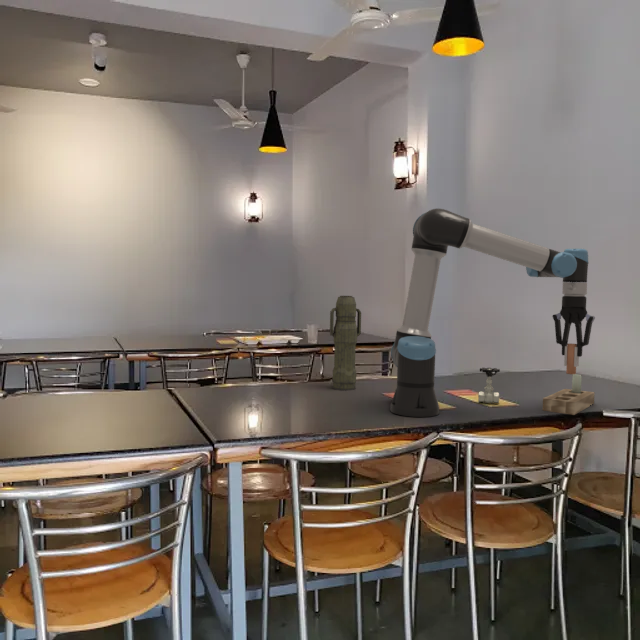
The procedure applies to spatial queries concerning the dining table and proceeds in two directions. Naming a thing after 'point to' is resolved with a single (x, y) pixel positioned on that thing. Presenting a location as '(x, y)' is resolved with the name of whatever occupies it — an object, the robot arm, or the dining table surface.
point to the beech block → (568, 401)
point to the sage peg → (576, 383)
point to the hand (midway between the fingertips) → (571, 365)
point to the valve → (489, 387)
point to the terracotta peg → (570, 359)
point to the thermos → (345, 342)
